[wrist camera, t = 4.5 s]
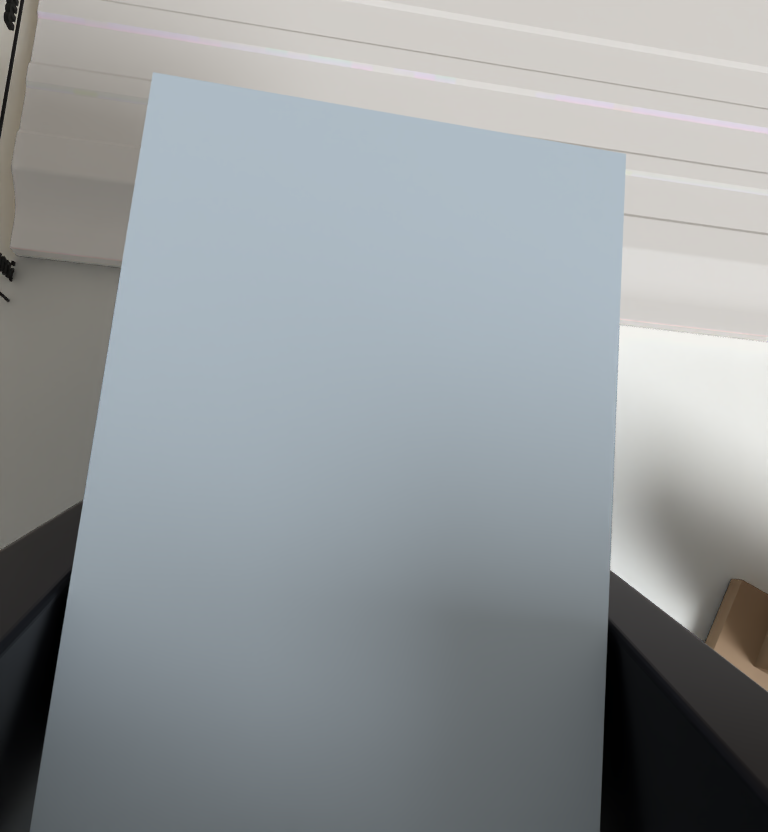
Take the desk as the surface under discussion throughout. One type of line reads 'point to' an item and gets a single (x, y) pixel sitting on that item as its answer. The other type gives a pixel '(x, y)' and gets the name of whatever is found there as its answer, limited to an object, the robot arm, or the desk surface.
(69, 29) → the baseboard molding
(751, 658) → the peg rest
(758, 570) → the desk surface
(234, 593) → the pale blue block
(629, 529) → the desk surface
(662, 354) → the desk surface
